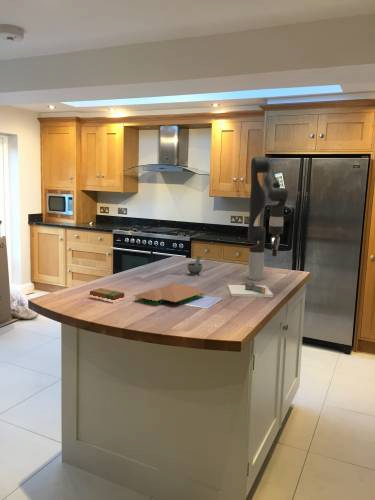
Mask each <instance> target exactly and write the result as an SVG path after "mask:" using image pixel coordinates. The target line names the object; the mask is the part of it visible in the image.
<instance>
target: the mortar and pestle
mask: <svg viewBox="0 0 375 500" xmlns="http://www.w3.org/2000/svg"><path fill="white" fill-rule="evenodd" d="M201 258H202V257H201V256H200V255H197V256H196V259H195V262H190V263H186V264H187V270H188V272H189V276H191V275H199V276H200V272H201V271H202V270H203V264H202V263H200V262H201V261H200V260H201Z"/></svg>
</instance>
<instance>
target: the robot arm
mask: <svg viewBox="0 0 375 500" xmlns="http://www.w3.org/2000/svg"><path fill="white" fill-rule="evenodd" d="M265 173H266V175H265V176H264V178H263V180H264V182H263V183H264V185H265V188H266V189H267V198H268V199H269V200H270V201H272V202H277V204H275V205H274V204H273V205H271V206H270V211H269V212H270V213H269V223H268V233H269V234H271V235H272V236H271V237H270V241H269V242H270V248H271V250H272V253H271V255H272V257H277V256H278V255H277V254H278V249H279V247H280V240H281V238H280V235H282V234H283V233H284V211H285V210H284V209H285V206H286V203H287V200H288V197H289V191H288V190H287V189H286V188H285V187H281V184H280V182H279V180H278V178H277V177H276V174H275V171H274V167H273V164H272V161H271V159H270V158H269V157H267V156H253V157H252V158H251V163H250V194H249V219H248V227H247V228H248V229H247V239H248V241H253V242H258V243H257V244H254V245H251V246H249V253H248V277H247V278H248V279H249V280H252V281H253V280H254V281H261V280H263V279H264V264H265V262H264V261H265V246H266V245H265V244H266V243H265V242H266V234H267V233H266V232H267V231H266V227H265V226H262V225H255V222H256V220H257V218H258V217H259V215H260V214H261V213H262V212H263V210H264V208H265V205H266V192H265V191H264V188H263V187H262V185H261V183H260V180H259V177H258V175H259V174H265Z"/></svg>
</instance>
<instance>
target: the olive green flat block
mask: <svg viewBox="0 0 375 500" xmlns="http://www.w3.org/2000/svg"><path fill="white" fill-rule="evenodd" d="M90 295H93V296H98V297H102V298H107V299H111V300H116V299H119V298H123V297H124V298H125V292H121V291H117V290H111V289H108V288H101V287H100V288H96V289H92V290H89V296H90Z"/></svg>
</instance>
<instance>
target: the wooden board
mask: <svg viewBox="0 0 375 500" xmlns="http://www.w3.org/2000/svg"><path fill="white" fill-rule="evenodd" d="M204 293H206V291H204V290H201V289H197V287H196V286H193V285H188V284H186V283H182V284H179V283H176V282H174V283H171V284H168V285H164V286H163V285H162V286H161V287H160V286H159V287H157V288H153V289H150V290H148V291H144V292H141V293H138V294H134V295H133V297H135V300H136V299H137V300H138V301H139V300H140V301H141V299H142V302H144V303H145V302H146V301H147V300H148V302H146V303H147V304H148V303H149V304H150V302H151V304H152V305H153V304H154V305H155V302H157V304H160V303H162V302H163V303H164V301H165V302H166V301H169V302H171V303H172V302H173V303H177V304H178V303H179V305H181V304H182V305H183V303H185V300H186V303H187V302H188V303H190V301H191V302H193V300H194V301H195V300H197V298H198V296H199V297H200V298H203V296H204ZM150 300H152V301H150ZM154 301H155V302H154ZM159 301H160V303H159Z"/></svg>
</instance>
